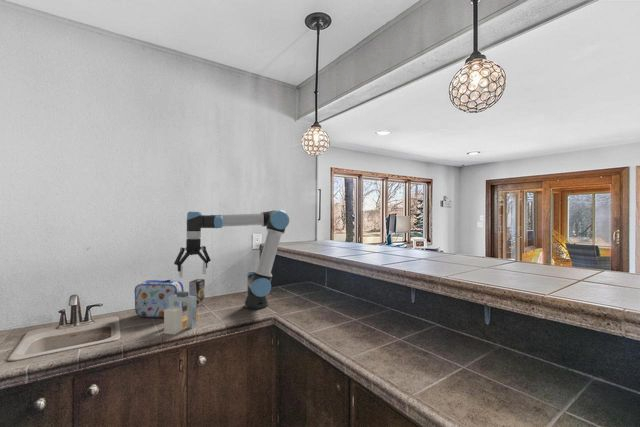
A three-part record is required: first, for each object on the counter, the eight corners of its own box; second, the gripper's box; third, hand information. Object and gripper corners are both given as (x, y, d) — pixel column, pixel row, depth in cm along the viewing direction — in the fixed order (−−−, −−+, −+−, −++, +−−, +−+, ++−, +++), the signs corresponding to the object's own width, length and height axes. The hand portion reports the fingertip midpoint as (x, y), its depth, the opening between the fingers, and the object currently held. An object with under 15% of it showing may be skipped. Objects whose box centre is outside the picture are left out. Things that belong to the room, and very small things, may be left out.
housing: (196, 326, 162) (196, 292, 162) (191, 328, 158) (191, 294, 158) (173, 324, 165) (173, 290, 165) (168, 326, 161) (168, 292, 161)
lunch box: (187, 312, 183) (187, 277, 183) (179, 318, 173) (179, 281, 173) (142, 312, 184) (142, 277, 184) (132, 318, 173) (132, 280, 173)
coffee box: (197, 306, 195) (197, 282, 195) (188, 306, 196) (188, 281, 196) (205, 302, 204) (205, 279, 204) (196, 302, 205) (196, 278, 205)
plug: (190, 319, 173) (190, 298, 173) (199, 319, 171) (199, 299, 171) (164, 333, 152) (164, 310, 152) (174, 334, 151) (174, 310, 151)
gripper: (210, 237, 183) (210, 271, 183) (168, 239, 165) (167, 277, 165) (217, 237, 178) (216, 273, 178) (173, 240, 160) (172, 279, 159)
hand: (192, 275), depth 171 cm, fingers open, 13 cm apart
